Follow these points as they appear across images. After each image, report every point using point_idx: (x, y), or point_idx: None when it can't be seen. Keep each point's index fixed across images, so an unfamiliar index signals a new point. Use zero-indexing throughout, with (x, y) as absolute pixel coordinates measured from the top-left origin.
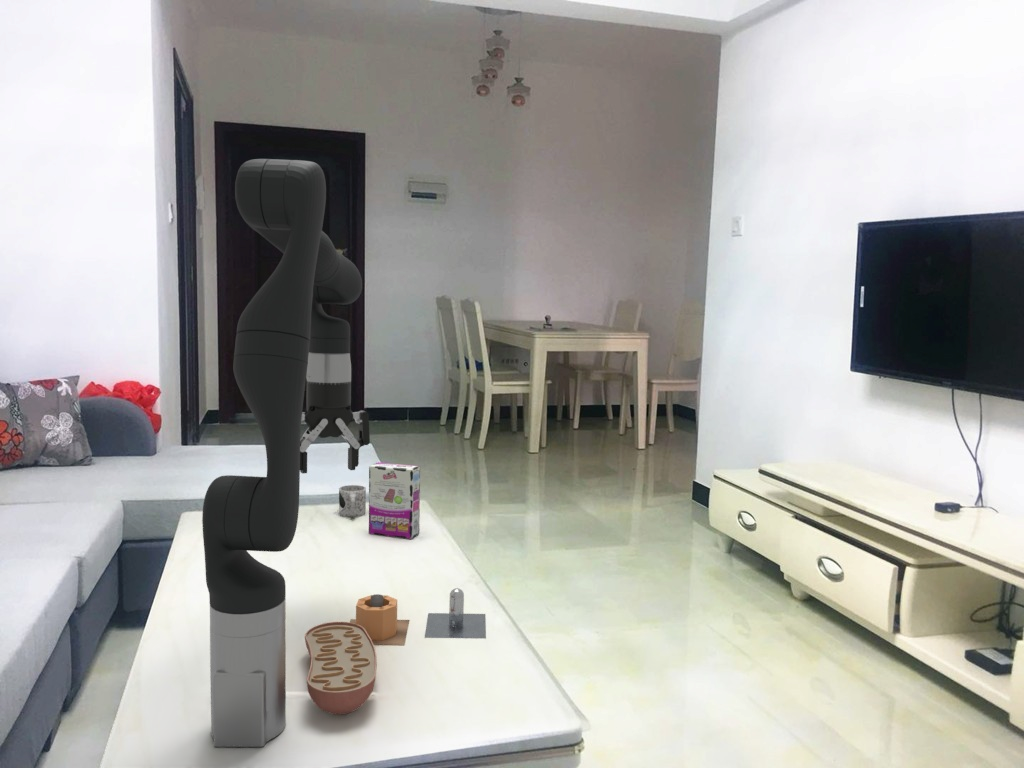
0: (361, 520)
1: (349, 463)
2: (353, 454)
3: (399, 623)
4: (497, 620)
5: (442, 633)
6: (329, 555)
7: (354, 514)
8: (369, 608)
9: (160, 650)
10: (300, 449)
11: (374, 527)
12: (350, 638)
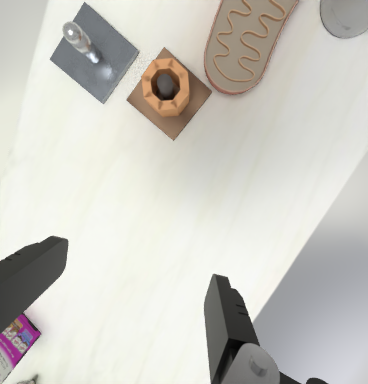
0: (28, 370)
1: (52, 268)
2: (12, 268)
3: (139, 98)
4: (44, 51)
5: (116, 46)
6: (103, 304)
7: (30, 381)
8: (182, 73)
9: (325, 195)
10: (270, 363)
11: (30, 336)
12: (227, 41)
